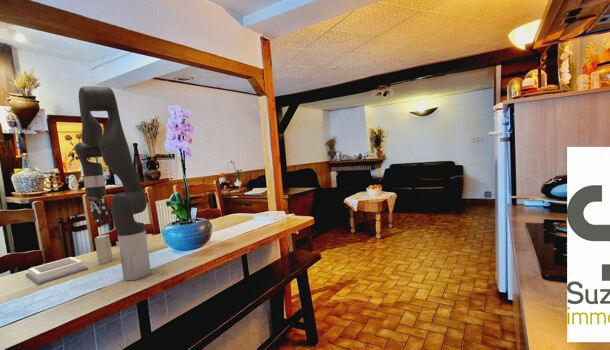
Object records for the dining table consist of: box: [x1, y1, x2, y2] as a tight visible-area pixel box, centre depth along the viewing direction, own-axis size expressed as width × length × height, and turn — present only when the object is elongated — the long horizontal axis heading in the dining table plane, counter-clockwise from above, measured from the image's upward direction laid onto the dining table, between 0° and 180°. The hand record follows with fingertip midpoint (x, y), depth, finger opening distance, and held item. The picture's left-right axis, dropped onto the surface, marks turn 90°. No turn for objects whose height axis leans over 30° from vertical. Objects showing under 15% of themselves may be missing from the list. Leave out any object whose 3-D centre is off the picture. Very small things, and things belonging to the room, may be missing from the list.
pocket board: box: [25, 256, 89, 286], centre depth 119 cm, size 20×16×4 cm
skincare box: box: [94, 233, 113, 265], centre depth 129 cm, size 6×4×12 cm
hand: (99, 220), depth 128 cm, fingers open, 8 cm apart
